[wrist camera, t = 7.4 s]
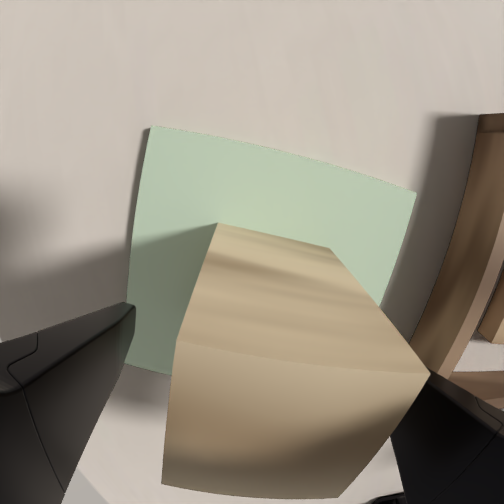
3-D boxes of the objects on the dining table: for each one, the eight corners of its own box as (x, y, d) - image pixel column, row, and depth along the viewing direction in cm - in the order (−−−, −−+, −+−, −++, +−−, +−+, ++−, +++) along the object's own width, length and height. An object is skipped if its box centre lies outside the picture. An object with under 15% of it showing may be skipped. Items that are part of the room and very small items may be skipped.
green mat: (334, 394, 15) (336, 399, 15) (126, 358, 14) (124, 363, 14) (412, 191, 12) (417, 193, 12) (154, 126, 11) (151, 125, 11)
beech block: (297, 342, 14) (337, 497, 6) (197, 323, 13) (161, 483, 6) (329, 248, 12) (430, 373, 5) (218, 222, 12) (176, 339, 4)
